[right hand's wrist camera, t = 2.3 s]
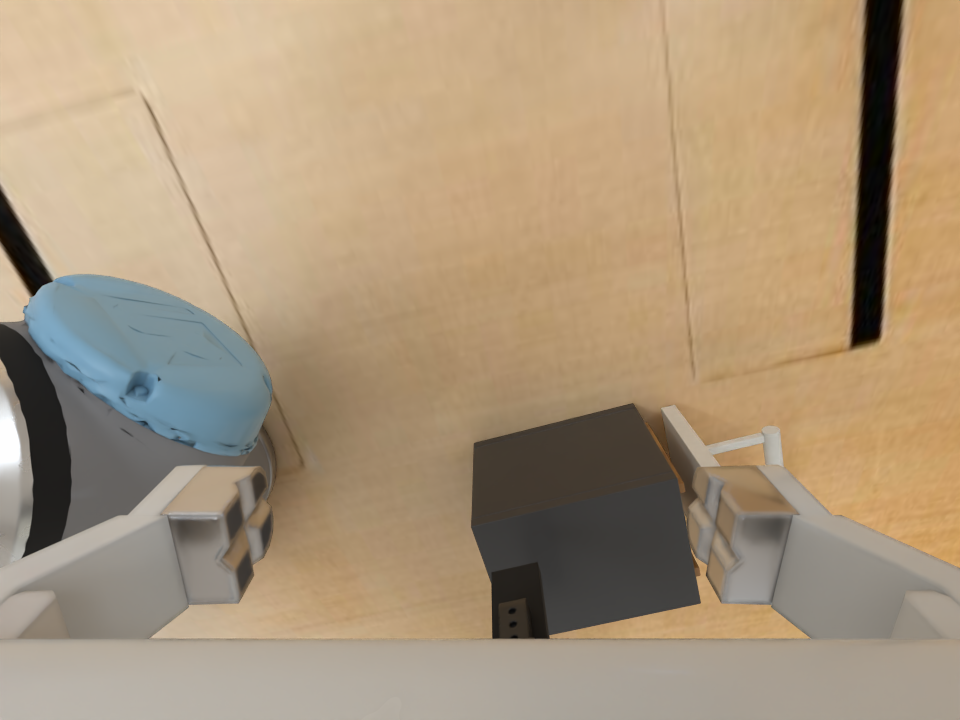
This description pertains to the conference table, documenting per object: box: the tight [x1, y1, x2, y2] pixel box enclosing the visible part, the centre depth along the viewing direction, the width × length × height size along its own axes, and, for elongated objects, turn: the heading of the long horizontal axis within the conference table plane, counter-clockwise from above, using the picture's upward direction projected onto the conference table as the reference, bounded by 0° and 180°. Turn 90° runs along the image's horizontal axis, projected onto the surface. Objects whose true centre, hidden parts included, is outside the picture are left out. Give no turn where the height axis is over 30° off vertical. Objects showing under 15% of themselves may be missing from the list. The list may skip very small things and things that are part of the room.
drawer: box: [645, 405, 784, 576], centre depth 44 cm, size 19×10×10 cm, turn 106°
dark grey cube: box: [471, 403, 701, 635], centre depth 44 cm, size 14×11×12 cm
